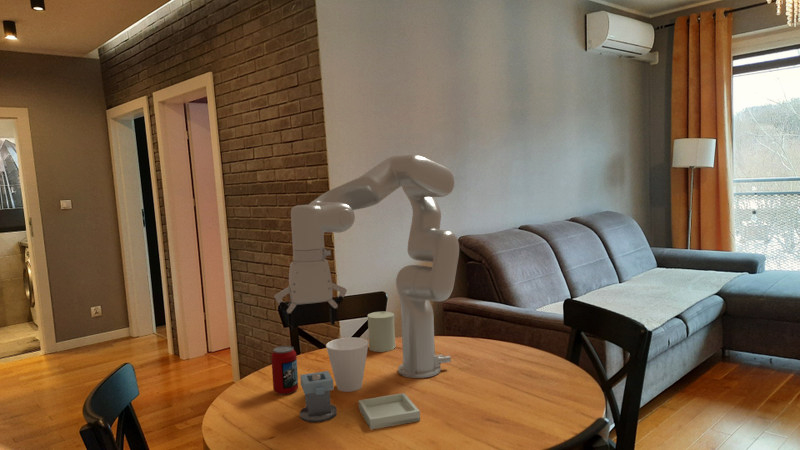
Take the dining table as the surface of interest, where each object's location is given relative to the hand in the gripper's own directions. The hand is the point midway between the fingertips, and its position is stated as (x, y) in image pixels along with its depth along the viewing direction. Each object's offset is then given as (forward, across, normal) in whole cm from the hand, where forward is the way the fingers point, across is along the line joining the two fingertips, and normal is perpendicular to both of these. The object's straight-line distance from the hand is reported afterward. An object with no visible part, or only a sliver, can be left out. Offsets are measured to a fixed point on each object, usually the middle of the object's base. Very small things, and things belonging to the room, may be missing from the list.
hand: (312, 325), depth 135 cm
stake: (+22, 0, 0) cm, 22 cm away
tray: (+22, -16, +7) cm, 28 cm away
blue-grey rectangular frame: (+15, 0, 0) cm, 15 cm away
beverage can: (+22, +6, -19) cm, 30 cm away
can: (+22, -29, -46) cm, 59 cm away
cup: (+22, -11, -15) cm, 29 cm away
